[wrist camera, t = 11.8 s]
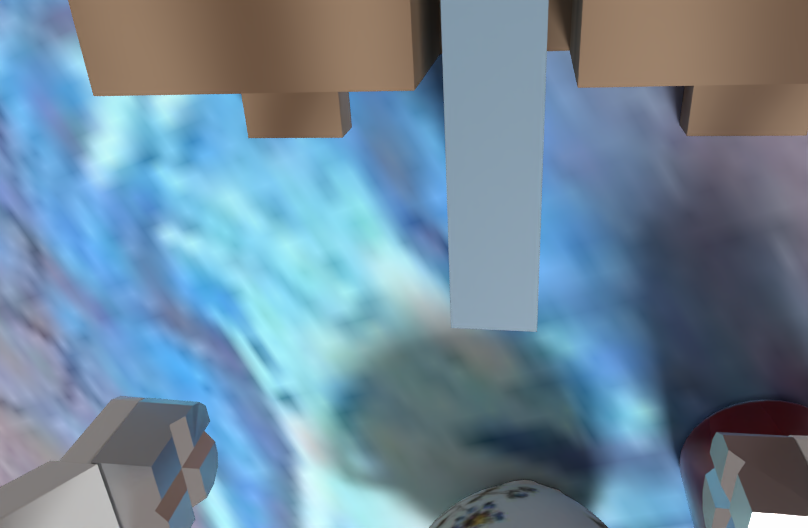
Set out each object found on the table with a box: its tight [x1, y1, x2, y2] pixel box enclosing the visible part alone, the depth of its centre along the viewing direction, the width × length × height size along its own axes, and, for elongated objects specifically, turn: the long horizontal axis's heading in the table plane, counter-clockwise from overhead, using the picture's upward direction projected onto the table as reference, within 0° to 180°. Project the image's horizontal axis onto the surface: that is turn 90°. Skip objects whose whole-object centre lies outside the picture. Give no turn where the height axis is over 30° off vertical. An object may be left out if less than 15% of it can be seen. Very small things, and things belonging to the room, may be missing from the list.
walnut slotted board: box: [68, 0, 808, 138], centre depth 20 cm, size 22×10×10 cm, turn 94°
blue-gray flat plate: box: [441, 0, 549, 332], centre depth 20 cm, size 16×2×10 cm, turn 4°
